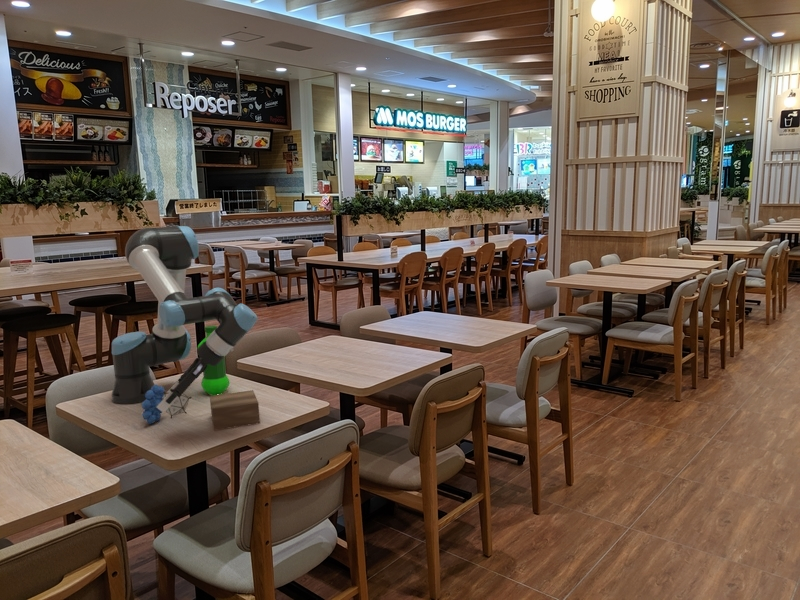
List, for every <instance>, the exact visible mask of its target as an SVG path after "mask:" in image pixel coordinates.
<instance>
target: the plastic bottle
mask: <svg viewBox="0 0 800 600" xmlns="http://www.w3.org/2000/svg"><path fill="white" fill-rule="evenodd" d="M217 327H218V326H217V325H206V326H204V333H206V336H205V337H204V338H203V339H202V340H201V342H199V344H198V345H197V349H198V348H199V347H200V345H201V344H202V343H203V342H205V341H206V339H207V338H208V337H209V335H210V334H211V333H212V332H213V331H214V330H215V329H216V328H217ZM197 349H196V350H197ZM202 374H203V378H202V380H201V382H200V383H201V385H200V386H201V388H202V390H204V391H205V392H206V393H207V394H208V395H210V396H213V395H217V394H219V395H221V393H222V394H224V392H225V391H226V390H227V389H228V388H229V386H230V379H229V377H228V376H227V369H226V356H224V358H223V359H222V360H221V361H220V363H219V364H218V365H217V366H212V365H210V364H207V367H206V370H205V371H204V372H202Z"/></svg>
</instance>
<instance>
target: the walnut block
mask: <svg viewBox="0 0 800 600" xmlns="http://www.w3.org/2000/svg"><path fill="white" fill-rule="evenodd" d="M209 404H210V413H211V415H212V416H211V421H213V422H212V426H213V427H212V428H213V430H214V431H216V430H215V429H218V430H223V429H222V428H224V429H229V428H228V427H231V428H235V427H234V426H238V427H242V426H241V425H244V426H249V425H248V424H251V425H257V424H256V423H258V424H261V421H260V406H259V401H258V399H257V396H256V394H255V391H254V390H253V389H252V390H245V391H238V392H237V391H236V392H230V393H222V394H219V395H210V396H209Z"/></svg>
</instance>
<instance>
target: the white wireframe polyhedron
mask: <svg viewBox="0 0 800 600" xmlns="http://www.w3.org/2000/svg"><path fill="white" fill-rule="evenodd" d="M163 393H164V398H165V397H166V396H167V395H168V394H169V393H170V392H168V393H167V392H166V391H165V392H163ZM164 398H163V399H164ZM192 398H193V397H192V396H187V395H186V394H185V393H183V394H182V395H181V396H180V397H178V398H177V399H176V400H175V402H174V403H173V404H172V405H171V406H170V407H169V408H168V409H167V410H166V411H165V413H167V414H168V415H169V416H170V417H169V418H170V419H172V418H173V417H174V416H176V415H181V414H183V413H184V414H186V415H187V414H188V413H187V411H186V409H187V407H188V403H189V400H190V399H192Z"/></svg>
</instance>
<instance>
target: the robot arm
mask: <svg viewBox="0 0 800 600" xmlns="http://www.w3.org/2000/svg"><path fill="white" fill-rule="evenodd" d="M124 254H125V259H126V261H127V263H128V265H130V267H131V268H132V269H133V270H134V271H135V270H136V271H137V272H138V273H139V274H140V276H141V278H142V279H143V280H144V282H145V283H146V284H147V286H148V288H149V289H150V290H151V291H150V292H152V293H153V295H154V297H155V298H156V299H157V301H158V304H157V320H156V321H157V323H156V324H155V325H154V326H153V327H152V333H149V334H147V333H146V331H135V332H134V331H132V332H128V333H127V332H126V333H124V334H121V335H118V336H117V337H115V338H114V339H112V342H111V355H112V363H113V370H114V371H113V372H114V383H113V387H112V391H111V401H112V402H113V403H115V404H119V405H123V404H124V405H125V404H126V405H128V404H129V405H131V404H136V403H143V401H144V400H146V397H145V394H146V392H147V391H148V390H151V388H152V386H153V385H156V384H155V382H154V379H152V376H151V373H150V372H151V371H150V367H153V366H157V365H162V364H169V363H175V362H176V363H177V362H178V361H181V360H184V359H186V358H187V357H188V356H189V355H190V352H191V350H192V349H191V348H192V341H191V339H192V338H191V334H190V332H189V331H188V329H186V327H185V325H186V326H187V325H190V324H195V323H204V322H209V321H215V320H216V321H217V322H218V323H219V325H218V326H217V328H216V329H215V330H214V331H213V332H212V333H211V334H210V335H209V337H208V338H207V339H206V341H205V342H203V343H202V344H201V345H200V347H199V348H198V347H197V348H198V349H196V353H197V355H198V357H196V358H195V359H194V360H193V362H192V364H190V366H189V367H188V368H187V369H186V371H184V372H183V373H182V375H180V376H179V378H178V379H177V381H176V382H175V383H174V384H173V385H172V386H171V387H170V388H169V389H168V390H167V391H166V393H168V392H170V393H169V394H168V395H167V396H166V397H165V398H164V396H163V397H162V398H164V399H163V400H162V401H161V403H160V404H159V405H158V406H157V407H156V408H158V409H159V410H160V411H162V412H163V413H162V414H165V413H166V410H167V409H168V408H169V407H170V406H171V405H172V404H173V403H174V402H175V400H176V399H177V398H178V397H180V396H181V395H182V394H185V392H186V391H187V389H188V388H189V387H190V386H191V385H192V383H194V382H195V381H196V379H197V378H199V377H200V375H201V374H203V372H204V371H205V370H206V367H207V364H210V365H212V366H217V365H218V364H219V363H220V361H221V360H222V359H223V358H224V356H225V357H226V356H227V355H228V354H229V353H230V352H233V351H234V347H236V345H237V344H238V343H239V342H240V341H241V340H242V339H244V337H245V336H246V334H247V333H248V332H250V331H252V328H253V327H254V325H255V324H256V323H257V322H258V319H259V318H258V316H257V314H256V313H255V312H254V311H253V310H252V309H251V308H250V307H249V306H248V305H246V304H244V303H239V304H237V302H236V301H235V300H234V298H233V296H232V295H231V294H230V293H229V292H228V291H226V290H225V288H222V287H214V288H212V289H211V290H208V291H207V292H205V295H204V296H203V295H202V296H197V297H196V296H195V297H188V296H187V294H186V293H185V292H186V291H185V290H186V276H187V270H188V269H190V268H191V267H192V260H195V259H197V258H198V257H199V255H200V245H199V241H198V238H197V236H196V233H195V231H194V230H193V229H192V228H191V227H189V226H187V225H180V226H179V225H175V226H161V227H160V226H158V227H144V228H140V229H139V230H136V231H135V232H134V233H132V235H131V236H130V237H129V239H128V240H127V242H126V244H125V248H124Z"/></svg>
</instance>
